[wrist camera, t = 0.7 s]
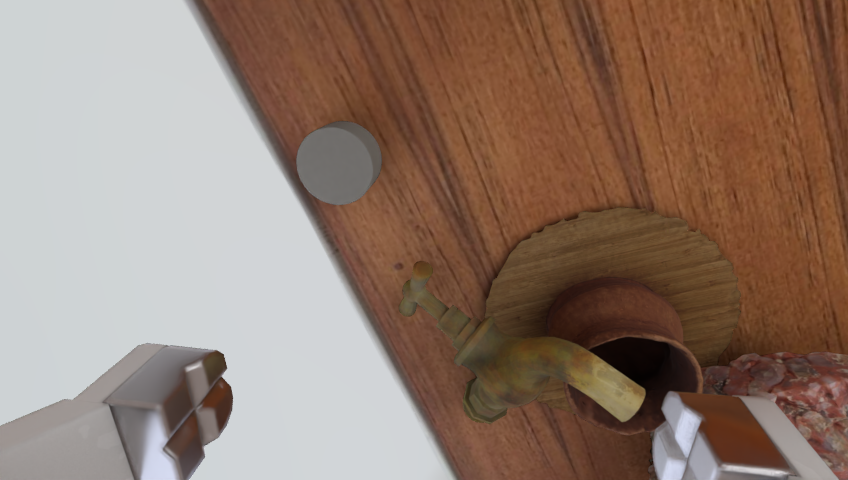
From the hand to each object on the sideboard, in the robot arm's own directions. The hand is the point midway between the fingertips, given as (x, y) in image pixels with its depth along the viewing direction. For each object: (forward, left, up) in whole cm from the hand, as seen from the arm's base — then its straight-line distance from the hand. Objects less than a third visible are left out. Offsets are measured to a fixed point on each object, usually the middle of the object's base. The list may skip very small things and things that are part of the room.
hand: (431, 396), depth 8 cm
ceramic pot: (+15, +5, -23) cm, 28 cm away
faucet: (+19, +1, -17) cm, 25 cm away
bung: (-3, -8, -23) cm, 25 cm away
